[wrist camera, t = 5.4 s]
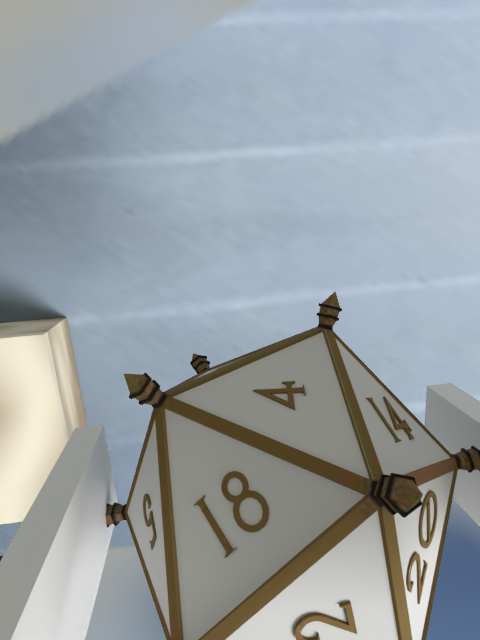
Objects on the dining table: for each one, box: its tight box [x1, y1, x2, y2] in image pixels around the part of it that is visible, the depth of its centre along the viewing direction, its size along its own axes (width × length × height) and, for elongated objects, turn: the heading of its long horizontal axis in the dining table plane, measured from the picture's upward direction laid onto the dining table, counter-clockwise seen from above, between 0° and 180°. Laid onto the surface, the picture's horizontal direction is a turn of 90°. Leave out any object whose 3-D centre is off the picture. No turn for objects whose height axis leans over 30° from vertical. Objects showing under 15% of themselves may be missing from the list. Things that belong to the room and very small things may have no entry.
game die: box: [106, 292, 480, 640], centre depth 9 cm, size 9×8×10 cm
